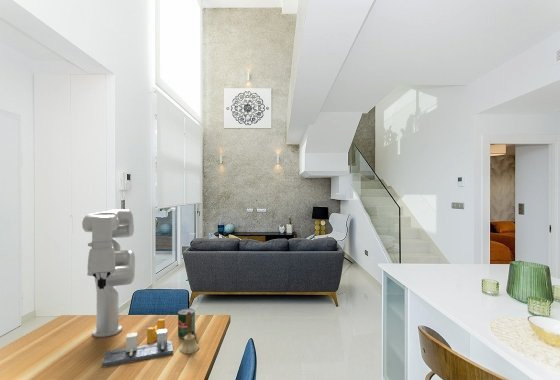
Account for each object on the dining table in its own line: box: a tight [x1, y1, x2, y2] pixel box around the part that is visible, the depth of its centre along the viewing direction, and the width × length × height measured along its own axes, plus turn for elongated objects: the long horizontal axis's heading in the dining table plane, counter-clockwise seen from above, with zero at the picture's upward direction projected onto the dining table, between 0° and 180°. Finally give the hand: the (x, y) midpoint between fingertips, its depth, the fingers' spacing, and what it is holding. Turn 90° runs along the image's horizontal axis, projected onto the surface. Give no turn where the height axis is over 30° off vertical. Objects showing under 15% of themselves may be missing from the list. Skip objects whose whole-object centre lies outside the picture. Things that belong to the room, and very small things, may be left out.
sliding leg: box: [125, 332, 138, 356], centre depth 131 cm, size 8×4×6 cm, turn 23°
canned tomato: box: [177, 308, 196, 339], centre depth 151 cm, size 8×8×11 cm
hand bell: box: [178, 312, 200, 355], centre depth 137 cm, size 8×8×16 cm
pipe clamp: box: [146, 318, 166, 344], centre depth 149 cm, size 12×4×6 cm, turn 175°
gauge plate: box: [101, 328, 174, 368], centre depth 132 cm, size 10×26×8 cm, turn 113°
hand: (101, 288), depth 135 cm, fingers closed
